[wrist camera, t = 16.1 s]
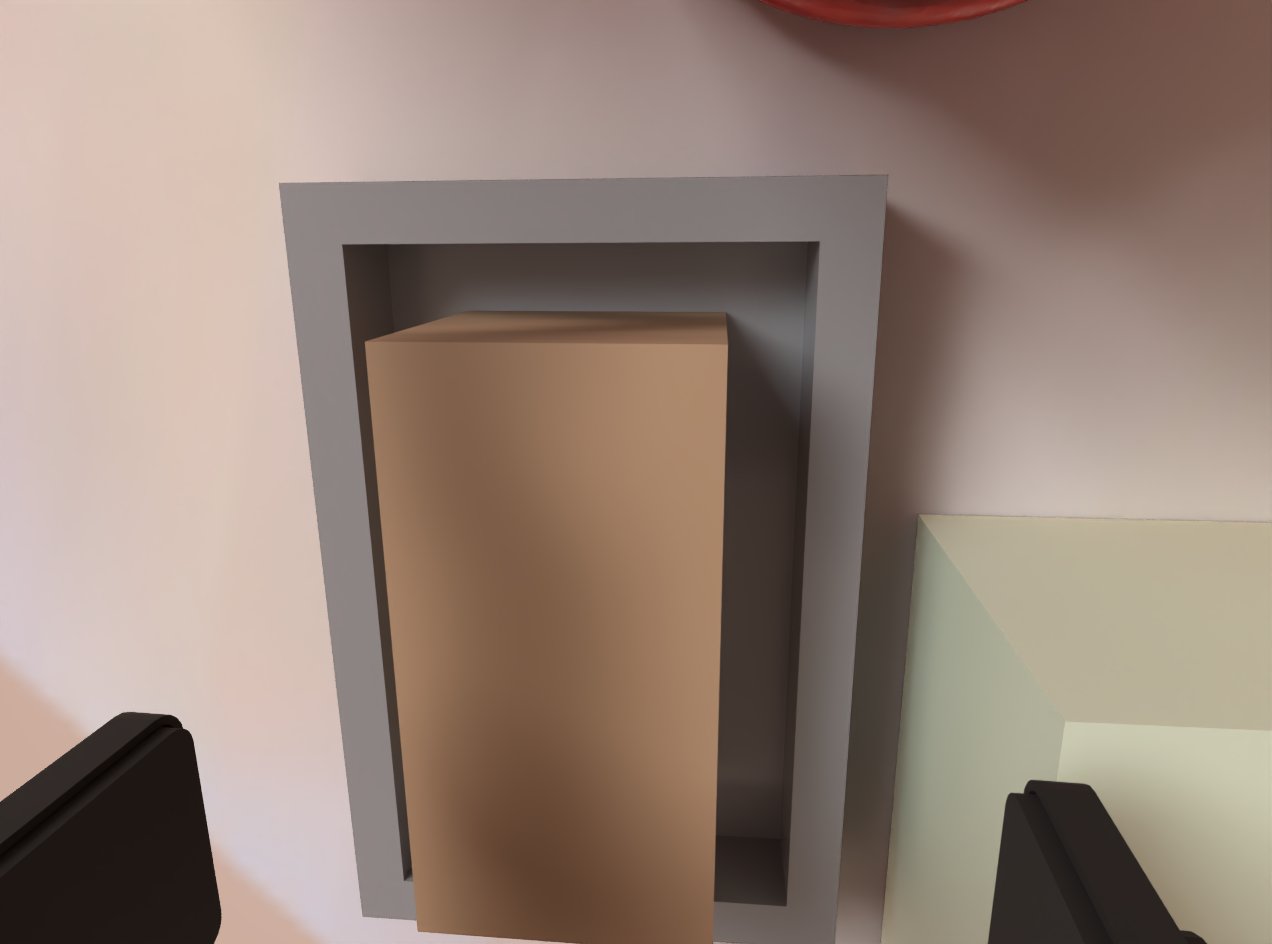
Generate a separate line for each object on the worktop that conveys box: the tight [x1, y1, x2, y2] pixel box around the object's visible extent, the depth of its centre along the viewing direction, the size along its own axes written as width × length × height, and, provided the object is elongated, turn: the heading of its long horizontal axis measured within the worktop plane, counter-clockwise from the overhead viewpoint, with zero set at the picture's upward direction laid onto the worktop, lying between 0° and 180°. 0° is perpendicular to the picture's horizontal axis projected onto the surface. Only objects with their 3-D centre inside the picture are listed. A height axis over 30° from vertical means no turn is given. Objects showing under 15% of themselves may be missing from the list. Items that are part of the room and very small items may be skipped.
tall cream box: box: [881, 514, 1272, 944], centre depth 15 cm, size 8×12×8 cm
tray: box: [279, 175, 888, 944], centre depth 17 cm, size 10×15×3 cm, turn 0°
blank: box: [365, 311, 728, 944], centre depth 15 cm, size 5×10×5 cm, turn 0°
